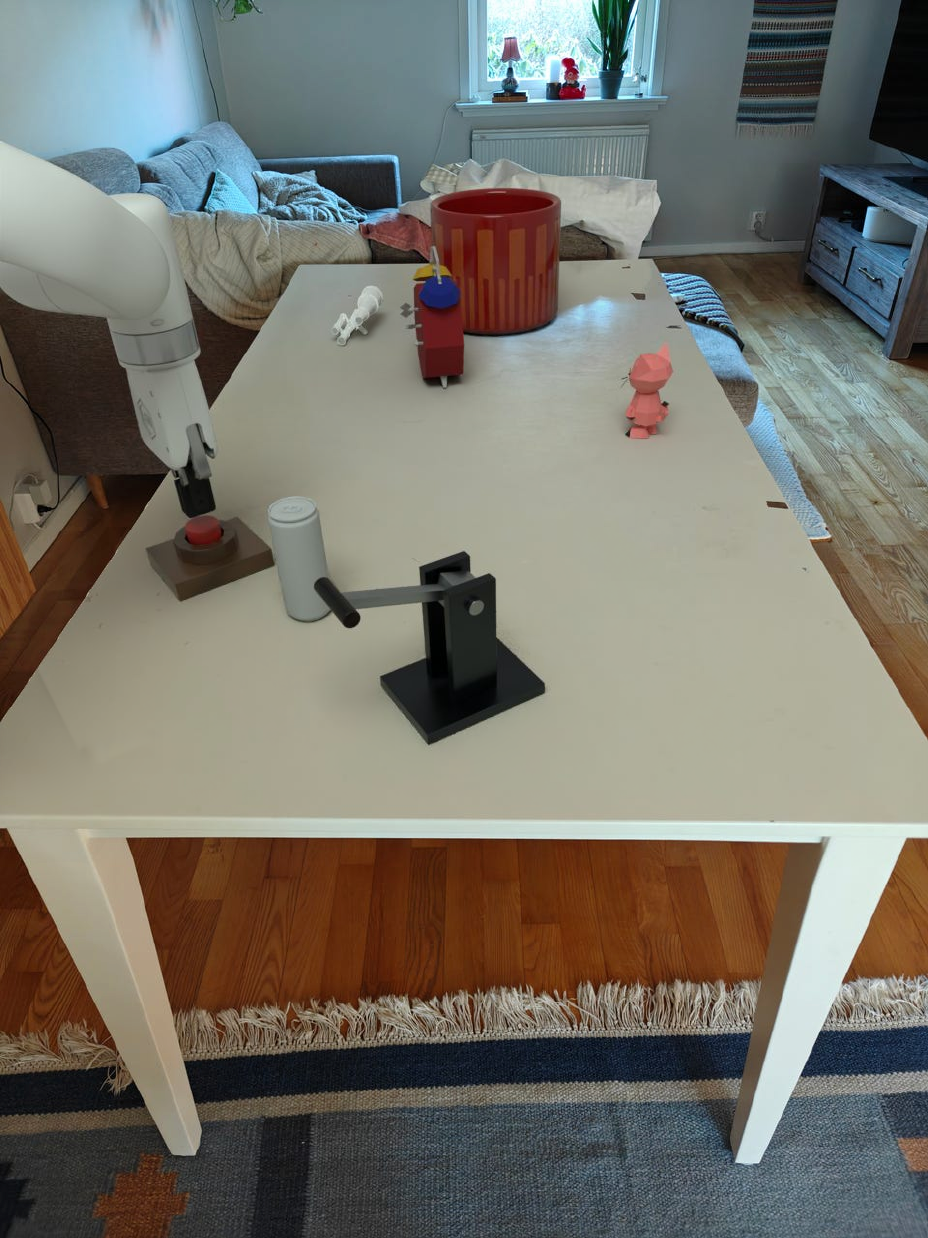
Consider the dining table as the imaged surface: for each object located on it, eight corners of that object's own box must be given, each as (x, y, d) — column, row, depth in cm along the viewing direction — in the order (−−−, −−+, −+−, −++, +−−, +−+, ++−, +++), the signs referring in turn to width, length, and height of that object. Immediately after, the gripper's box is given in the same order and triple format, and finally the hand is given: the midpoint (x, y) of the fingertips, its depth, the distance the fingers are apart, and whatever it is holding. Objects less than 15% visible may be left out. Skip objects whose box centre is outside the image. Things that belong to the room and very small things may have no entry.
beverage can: (329, 623, 86) (313, 520, 78) (282, 624, 86) (261, 521, 79) (336, 595, 89) (321, 495, 82) (291, 596, 90) (271, 495, 82)
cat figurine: (640, 418, 123) (648, 335, 115) (680, 431, 118) (691, 346, 111) (609, 433, 119) (615, 348, 111) (650, 448, 115) (659, 361, 107)
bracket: (428, 745, 72) (418, 624, 64) (380, 685, 78) (366, 569, 70) (545, 693, 76) (549, 575, 69) (491, 640, 83) (489, 527, 75)
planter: (421, 335, 154) (414, 214, 142) (451, 297, 172) (446, 186, 159) (547, 341, 149) (551, 216, 137) (564, 301, 167) (569, 187, 155)
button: (195, 549, 91) (192, 535, 90) (183, 536, 93) (179, 522, 92) (227, 538, 92) (224, 524, 91) (214, 525, 95) (211, 511, 94)
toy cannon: (350, 355, 151) (327, 334, 150) (364, 329, 163) (342, 310, 161) (378, 323, 148) (354, 301, 146) (390, 299, 159) (368, 278, 157)
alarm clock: (467, 392, 132) (462, 256, 120) (411, 397, 131) (402, 261, 119) (453, 358, 144) (448, 232, 132) (402, 363, 143) (392, 236, 131)
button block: (179, 601, 90) (170, 569, 87) (150, 564, 95) (141, 534, 93) (274, 565, 95) (268, 534, 92) (241, 532, 100) (234, 502, 98)
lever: (340, 635, 63) (345, 607, 62) (311, 598, 67) (315, 571, 65) (486, 617, 70) (492, 592, 69) (452, 585, 74) (457, 561, 73)
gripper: (92, 330, 83) (141, 496, 94) (144, 374, 73) (192, 553, 84) (166, 313, 86) (205, 475, 98) (226, 353, 77) (262, 528, 88)
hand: (199, 511), depth 91 cm, fingers closed
